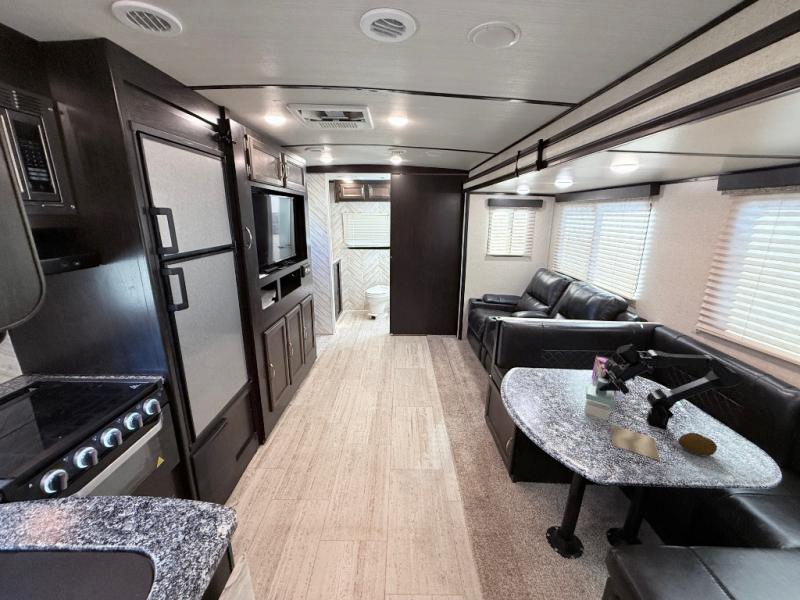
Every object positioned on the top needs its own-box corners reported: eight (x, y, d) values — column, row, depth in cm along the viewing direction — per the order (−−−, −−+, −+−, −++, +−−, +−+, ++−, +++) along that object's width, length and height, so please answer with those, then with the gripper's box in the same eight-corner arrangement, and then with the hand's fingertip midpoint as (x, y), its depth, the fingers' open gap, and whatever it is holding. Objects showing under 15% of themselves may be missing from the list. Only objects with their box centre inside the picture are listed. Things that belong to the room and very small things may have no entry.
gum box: (615, 400, 156) (621, 376, 153) (597, 396, 159) (602, 372, 156) (607, 380, 177) (612, 357, 174) (591, 376, 180) (595, 354, 177)
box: (607, 410, 147) (609, 401, 146) (607, 420, 140) (609, 411, 139) (585, 404, 152) (587, 395, 150) (584, 413, 144) (586, 404, 143)
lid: (612, 395, 145) (616, 379, 143) (613, 406, 137) (617, 389, 135) (586, 388, 151) (590, 372, 149) (586, 398, 142) (589, 381, 140)
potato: (720, 461, 117) (726, 443, 116) (686, 459, 118) (692, 441, 116) (701, 446, 125) (707, 429, 123) (669, 444, 126) (674, 427, 124)
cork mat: (653, 439, 128) (654, 438, 128) (659, 461, 116) (660, 460, 116) (610, 425, 136) (610, 424, 136) (611, 445, 123) (612, 444, 123)
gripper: (613, 348, 146) (582, 365, 152) (626, 364, 129) (590, 383, 135) (629, 366, 145) (597, 383, 151) (644, 385, 128) (608, 403, 134)
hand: (598, 387), depth 143 cm, fingers closed on lid, 5 cm apart
